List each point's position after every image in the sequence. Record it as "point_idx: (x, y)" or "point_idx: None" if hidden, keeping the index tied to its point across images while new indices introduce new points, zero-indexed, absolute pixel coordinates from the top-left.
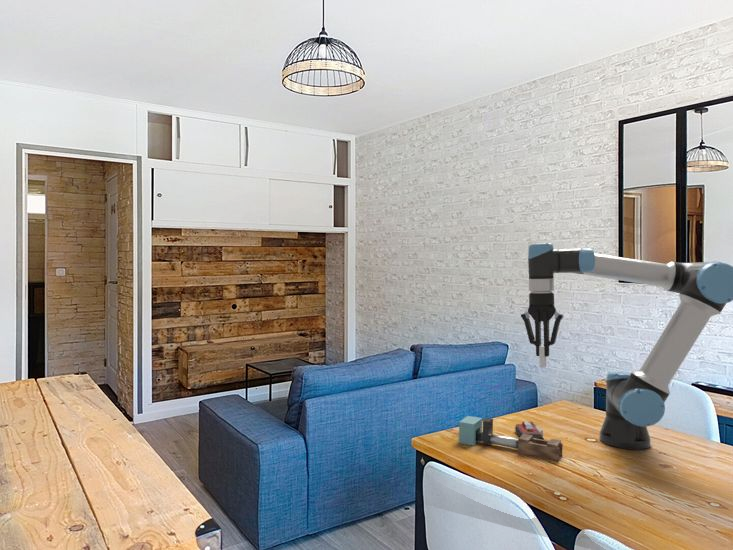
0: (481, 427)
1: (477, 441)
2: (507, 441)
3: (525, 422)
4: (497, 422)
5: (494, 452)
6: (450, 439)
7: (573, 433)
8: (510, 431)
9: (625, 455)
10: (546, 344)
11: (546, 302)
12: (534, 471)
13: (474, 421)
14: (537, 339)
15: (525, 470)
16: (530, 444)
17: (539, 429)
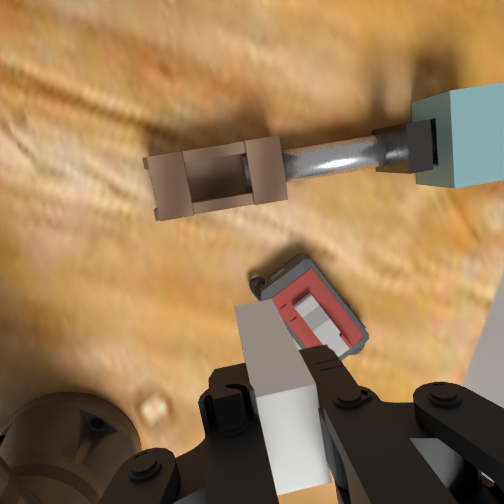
0: (436, 180)
1: None
2: (318, 145)
3: (338, 340)
4: (440, 367)
5: (333, 93)
6: None
7: None
8: (373, 314)
9: (24, 345)
10: (221, 424)
11: None
12: (167, 18)
13: (462, 127)
14: (374, 445)
15: (192, 6)
16: (236, 143)
17: None
